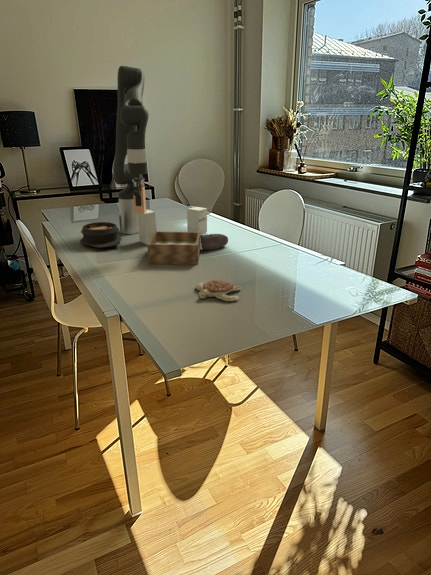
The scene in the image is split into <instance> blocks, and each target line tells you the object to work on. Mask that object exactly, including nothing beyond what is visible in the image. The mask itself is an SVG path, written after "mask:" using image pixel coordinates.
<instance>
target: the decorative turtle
mask: <svg viewBox="0 0 431 575" xmlns="http://www.w3.org/2000/svg"><path fill="white" fill-rule="evenodd" d="M195 289H196V290H198V295H197V296H198V298H199V299H201V300H202V299H207V298H214V297H215V298H216V299H219V300H223V301H227V302H232V301H236V300H238V299H239V298H240V297H239V296H238V295H227V294H228V293H230V292H231V291H240V290H241V289H242V287H241V286H240V285H233V284H232V283H230V281H227V280H226V281H225V280H222V279H214V280H211V281H210V280H209V282H208V281H207V282H206V283H205V282H203V281H202V282H199V283H197V284H196V285H195Z"/></svg>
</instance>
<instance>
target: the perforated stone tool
mask: <svg viewBox="0 0 431 575" xmlns="http://www.w3.org/2000/svg"><path fill="white" fill-rule="evenodd" d="M228 242H229V238H228V236H227V235H225V234H222V233H210V234H207V233H205V234H200V248H201V249H202V250H203V251H211V250H216V249H219V248H224V247H225V246H226V245H228Z"/></svg>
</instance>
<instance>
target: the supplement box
mask: <svg viewBox="0 0 431 575" xmlns="http://www.w3.org/2000/svg"><path fill="white" fill-rule="evenodd" d="M186 211H187V212H186V214H187V216H186V218H187V220H186V221H187V224H186V225H187V227H186V228H187V229H186V230H187V231H186V232H200V235H204V234H207V233H208V208H206V207H199V206H193V207H189V208H187V210H186ZM206 232H207V233H206ZM203 233H204V234H203Z"/></svg>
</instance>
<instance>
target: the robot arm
mask: <svg viewBox="0 0 431 575" xmlns="http://www.w3.org/2000/svg"><path fill="white" fill-rule="evenodd" d="M144 89H145V73H144V70H142V69H141V68H139V67H133V66H128V65H121V66H119V67H118V70H117V111H116V126H115V128H116V129H115V152H114V160H113V168H112V169H113V170H112V177H113V182H115V184H116V185H126V187H124V188H123V189H122V190H120V191H119V192H118V194H117V196H118V205H119V206H118V207H119V214H118V220H119V222H118V223H119V233H120V234H125V235H133V234H138V233H139V227H138V216H137V214H135V213H134V199H133V195H134V196H135V200H136V206H141V205H142V204H141V191H142V187H145V179H146V178H145V177H144V176H143V175H146V174H148V158H147V156H148V155H147V151H146V150H147V149H146V130H147V127H148V123H149V122H148V121H149V115H150V114H149V110H148V109H147V107H146V106H144V104H143V95H144V92H145V91H144ZM138 127H139V128H138ZM126 158H127V161H126ZM125 162H127V163H125ZM136 191H138V193H136Z"/></svg>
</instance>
